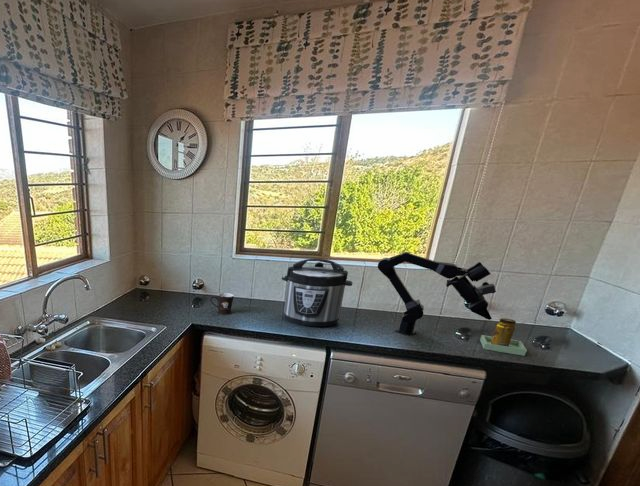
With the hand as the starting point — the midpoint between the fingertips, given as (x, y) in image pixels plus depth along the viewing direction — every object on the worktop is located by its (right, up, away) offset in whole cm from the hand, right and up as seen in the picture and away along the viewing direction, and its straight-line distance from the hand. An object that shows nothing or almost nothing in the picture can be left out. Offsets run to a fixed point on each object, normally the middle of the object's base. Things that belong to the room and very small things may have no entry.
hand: (488, 316), depth 174 cm
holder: (+6, -14, +1) cm, 15 cm away
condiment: (+6, -13, +1) cm, 15 cm away
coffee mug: (-107, +5, +47) cm, 117 cm away
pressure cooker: (-64, 0, +35) cm, 73 cm away
